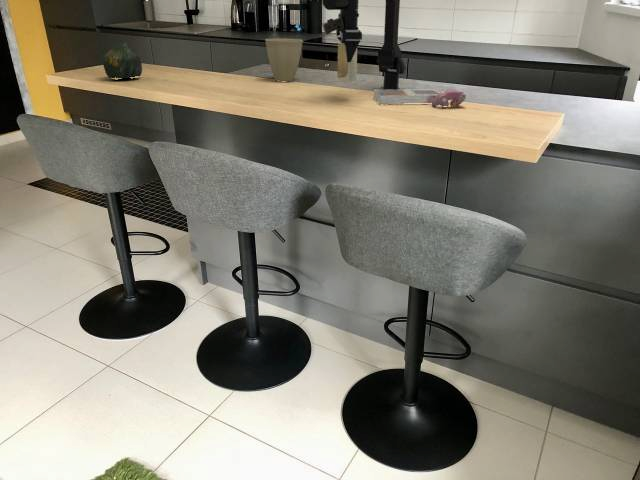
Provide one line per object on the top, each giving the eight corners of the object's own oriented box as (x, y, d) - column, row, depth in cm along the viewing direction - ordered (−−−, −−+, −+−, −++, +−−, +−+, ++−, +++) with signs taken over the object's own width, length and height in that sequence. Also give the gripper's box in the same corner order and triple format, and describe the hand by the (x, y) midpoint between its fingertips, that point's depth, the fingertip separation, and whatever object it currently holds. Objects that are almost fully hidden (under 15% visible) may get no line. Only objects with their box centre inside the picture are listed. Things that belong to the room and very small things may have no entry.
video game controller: (434, 113, 166) (441, 95, 160) (429, 104, 168) (436, 86, 163) (462, 111, 168) (469, 94, 163) (456, 103, 171) (464, 85, 166)
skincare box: (345, 80, 177) (346, 42, 173) (356, 81, 175) (358, 42, 171) (336, 82, 172) (337, 43, 167) (347, 83, 170) (349, 43, 165)
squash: (89, 66, 202) (106, 36, 195) (113, 63, 216) (131, 35, 209) (115, 92, 204) (133, 64, 196) (138, 88, 217) (156, 61, 210)
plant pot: (301, 84, 205) (301, 41, 198) (264, 83, 205) (263, 40, 198) (303, 78, 218) (303, 38, 211) (268, 77, 219) (267, 37, 212)
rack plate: (373, 98, 179) (374, 88, 178) (434, 98, 181) (435, 88, 180) (380, 104, 169) (380, 94, 167) (445, 104, 171) (446, 94, 169)
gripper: (321, 8, 172) (320, 57, 179) (327, 10, 155) (326, 64, 162) (354, 9, 173) (352, 57, 180) (363, 10, 156) (361, 64, 163)
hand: (347, 60), depth 171 cm, fingers closed on skincare box, 7 cm apart
